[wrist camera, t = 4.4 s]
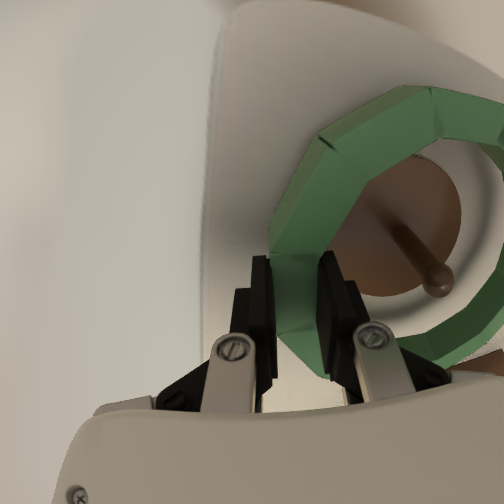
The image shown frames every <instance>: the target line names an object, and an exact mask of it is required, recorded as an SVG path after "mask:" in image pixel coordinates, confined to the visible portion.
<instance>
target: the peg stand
mask: <svg viewBox="0 0 504 504" xmlns="http://www.w3.org/2000/svg"><path fill="white" fill-rule="evenodd" d="M460 224H461V204H460V199H459V195H458V193H457V190H456V187H455V186H454V184H453V182H452V180H451V179H450V177H449V176H448V175H447V173H446V172H445V171H443V170H442V169H441V168H440V167H439V166H437V165H436V164H435V163H433V162H431V161H429V160H427V159H425V158H422V157H419V156H415V155H411V156H409V157H408V158H406V159H404V160H403V161H401V162H399V163H398V164H396V165H395V166H393V167H391V168H390V169H388V170H386V171H385V172H383V173H381V174H380V175H378V176H376V177H375V178H373V179H371V180H370V181H368V182H367V183H366V185H365V187H364V189H363V190H362V192H361V194H360V195H359V197H358V199H357V200H356V202H355V204H354V205H353V207H352V209H351V210H350V212H349V214H348V215H347V217H346V218H345V220H344V222H343V223H342V225H341V226H340V228H339V230H338V231H337V233H336V234H335V236H334V238H333V239H332V241H331V242H330V244H329V245H328V247H327V249H326V250H327V251H331V250H333V252H334V254H335V257H336V259H337V262H338V265H339V267H340V270H341V273H342V275H343V278H344V281H345V280H355V282H356V284H357V287H358V289H359V292H360V293H362V294H365V295H370V296H379V297H384V296H393V295H398V294H401V293H405V292H407V291H410V290H412V289H414V288H416V287H418V286H419V285H421V284H423V288H424V290H425V291H426V293H427V294H428V295H430V296H431V297H434V298H442V297H444V296H446V295H448V294H449V293H450V292H451V290H452V288H453V286H454V274H453V271H452V269H451V268H450V267H449V266H448V265H446V264H444V263H445V262H446V260H447V258H448V257H449V255H450V254H451V252H452V250H453V248H454V246H455V243H456V241H457V238H458V234H459V230H460Z"/></svg>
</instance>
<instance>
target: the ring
mask: <svg viewBox="0 0 504 504" xmlns="http://www.w3.org/2000/svg"><path fill="white" fill-rule="evenodd" d="M318 136H319V137H320V138H319V137H317V136H314V137H313V139H312V141H311V143H310V145H309V147H308V149H307V151H306V153H305V155H304V157H303V159H302V160H301V162H300V164H299V166H298V168H297V170H296V172H295V174H294V176H293V178H292V180H291V181H290V183H289V185H288V187H287V189H286V191H285V193H284V195H283V197H282V199H281V201H280V202H279V204H278V206H277V208H276V210H275V212H274V214H273V216H272V218H271V220H270V226H269V227H268V229H269V258H270V267H272V278H273V290H274V303H275V316H276V333H277V336H278V338H279V339H280V340H281V341H282V342H283V343H284V344H285V345H286V346H287V347H288V348H289V349H290V350H291V351H292V352H294V353H295V354H296V355H297V356H298V357H299V358H300V359H301V360H302V361H303V362H304V363H305V364H306V365H307V366H308V367H309V368H310V369H311V370H312V371H313V372H314V373H315V374H316V375H317V376H318V377H320V376H321V378H324V379H329V380H330V375H329V374H325V373H324V368H323V362H322V355H321V349H320V343H319V337H318V332H317V326H316V308H317V281H318V264H319V259H320V258H321V256H322V255H323V253H324V252H325V250H326V249H327V247H328V245H329V244H330V242H331V241H332V239H333V238H334V236H335V234H336V233H337V231H338V230H339V228H340V226H341V225H342V223H343V222H344V220H345V218H346V217H347V215H348V214H349V212H350V210H351V209H352V207H353V205H354V204H355V202H356V200H357V199H358V197H359V195H360V194H361V192H362V190H363V189H364V187H365V185H366V183H367V182H368V181H370V180H371V179H373V178H375V177H376V176H378V175H380V174H381V173H383V172H385V171H386V170H388V169H390V168H391V167H393V166H395V165H396V164H398V163H399V162H401V161H403V160H404V159H406V158H408V157H409V156H411V155H413V154H414V153H416V152H418V151H419V150H421V149H422V148H424V147H426V146H427V145H429V144H431V143H432V142H434V141H436V140H437V139H439V138H444V139H453V140H461V141H468V142H475V143H477V144H478V145H479V146H480V147H481V148H482V150H483V151H484V152H485V153H486V154H487V155H488V156H489V157H490V158H491V160H492V161H493V162H494V163H495V164H496V165H497V167H498V168H499V169H500V170H501V171H502V176H503V181H504V104H502V103H498V102H495V101H492V100H488V99H485V98H481V97H477V96H474V95H470V94H465V93H461V92H457V91H452V90H447V89H442V88H437V87H431V86H406V85H403V86H402V87H396V88H394V89H392V90H390V91H389V92H387V93H385V94H383V95H381V96H379V97H378V98H376V99H374V100H372V101H371V102H369V103H367V104H365V105H363V106H362V107H360V108H358V109H356V110H355V111H353V112H351V113H350V114H348V115H346V116H344V117H343V118H341V119H339V120H338V121H336V122H334V123H333V124H331V125H329V126H328V127H326V128H324V129H323V130H321V131H320V132H318ZM503 324H504V243H503V247H502V250H501V253H500V257H499V260H498V263H497V266H496V269H495V270H494V272H493V273H492V275H491V276H490V277H489V279H488V280H487V281H486V283H485V284H484V285H483V287H482V288H481V289H480V290H479V292H478V293H477V294H476V296H475V297H474V298H473V299H472V300H471V302H470V303H469V304H468V305H467V307H466V308H464V309H463V310H461V311H460V312H458V313H456V314H455V315H453V316H452V317H450V318H449V319H447V320H445V321H444V322H442V323H441V324H439V325H437V326H436V327H434V328H432V329H431V330H429V331H427V332H426V333H422V334H417V335H412V336H406V337H400V338H395V339H396V341H397V344H398V346H400V347H402V348H404V349H406V350H408V351H410V352H412V353H414V354H416V355H418V356H420V357H422V358H425V359H427V360H429V361H431V362H433V363H435V364H437V365H439V366H441V367H442V368H444V369H447V368H449V367H450V366H452V365H454V364H455V363H457V362H459V361H460V360H462V359H463V358H465V357H466V356H468V355H470V354H471V353H473V352H474V351H476V350H477V349H479V348H480V347H482V346H483V345H485V344H486V341H489V340H490V339H491V338H492V337H493V336H494V334H495V333H496V332H497V331H498V330H499V329H500V328H501V327H502V325H503Z"/></svg>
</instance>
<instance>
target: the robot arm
mask: <svg viewBox="0 0 504 504" xmlns="http://www.w3.org/2000/svg"><path fill="white" fill-rule="evenodd" d="M316 326H317V332H318V337H319V343H320V349H321V355H322V362H323V368H324V373H325V374H329V375H330V381H331V382H332V381H335V382H336V383H338V384H339V385H341V386H342V393H343V398H344V404H345V406H340V407H333V408H324V409H315V410H304V411H291V412H273V413H263V394H264V393H265V392H266V391H267V390H269V389H270V388H271V386H272V379H275V378H278V368H277V335H276V316H275V303H274V290H273V278H272V267H270V258H269V259H266V255H262V256H253V258H252V273H251V288H236V289H235V295H234V302H233V309H232V317H231V325H230V332H229V334H226V335H223V336H221V337H220V338H218V339H217V340H216V341H215V343H214V344H213V347H212V350H211V355H210V359H209V360H207V361H206V362H204V363H203V364H202V365H200V366H199V367H197V368H196V369H194V370H193V371H191V372H190V373H188V374H187V375H185V376H184V377H182V378H180V379H179V380H178V381H176V382H174V383H173V384H171V385H170V386H168V387H167V388H165V389H164V390H163V391H161V393H159V395H158V396H157V397H153V398H152V397H151V396H150V395H149V396H145V397H140V398H135V399H130V400H125V401H120V402H115V403H109V404H105V405H102V406H100V407H99V408H98V409H97V410H96V411H95V413H94V414H93V417H92V418H90V419H88V420H87V421H86V422H85V423H84V424H83V425H82V426H81V427H80V428H79V430H78V431H77V433H76V434H75V436H74V438H73V440H72V442H71V444H70V447H69V449H68V451H67V454H66V457H65V460H64V462H63V465H62V468H61V471H60V474H59V477H58V481H57V485H56V489H55V493H54V497H53V501H52V504H504V377H503V376H497V375H496V374H494V373H490V372H474V371H460V370H451V371H450V373H448V372H446V371H445V369H444V368H442V367H441V366H439V365H437V364H435V363H433V362H431V361H429V360H427V359H425V358H422V357H420V356H418V355H416V354H414V353H412V352H410V351H408V350H406V349H404V348H402V347H400V346H398V344H397V341H396V339H395V337H394V334H393V332H392V331H391V329H390V328H388V327H387V326H386V325H384V324H382V323H378V322H371V321H370V318H369V315H368V313H367V310H366V307H365V305H364V302H363V300H362V297H361V295H360V292H359V289H358V287H357V284H356V282H355V280H345V281H344V278H343V275H342V273H341V270H340V267H339V265H338V262H337V259H336V257H335V254H334V252H333V250H331V251H325V252H324V253H323V255H322V256H321V258H320V259H319V264H318V281H317V308H316Z"/></svg>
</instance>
